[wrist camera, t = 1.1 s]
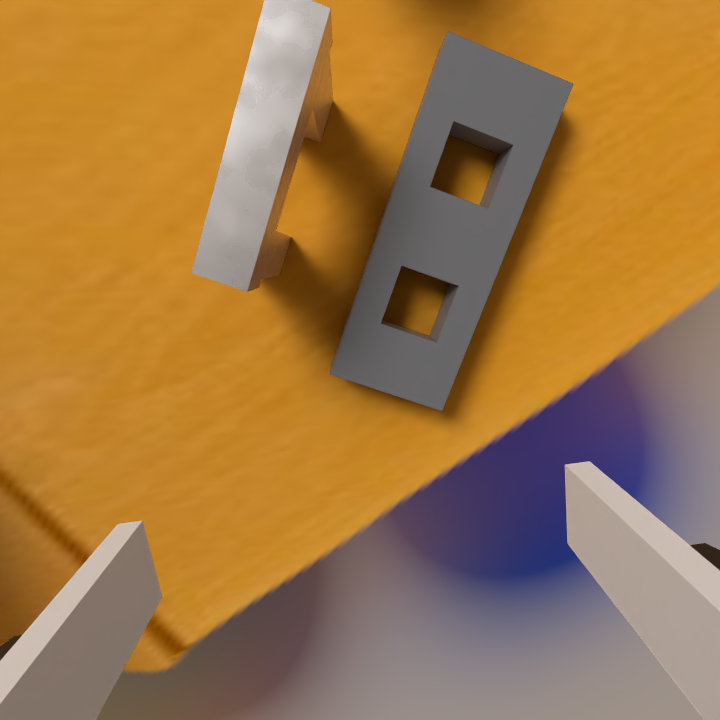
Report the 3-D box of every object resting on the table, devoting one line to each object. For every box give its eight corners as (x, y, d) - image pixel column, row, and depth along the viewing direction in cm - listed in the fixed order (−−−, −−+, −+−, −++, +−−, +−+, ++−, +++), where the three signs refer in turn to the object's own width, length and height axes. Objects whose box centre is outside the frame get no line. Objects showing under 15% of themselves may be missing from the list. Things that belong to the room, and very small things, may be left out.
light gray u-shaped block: (240, 268, 35) (191, 272, 24) (295, 77, 33) (269, -17, 21) (277, 281, 36) (247, 291, 24) (335, 93, 33) (330, 8, 22)
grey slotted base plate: (331, 365, 37) (329, 374, 34) (438, 51, 33) (447, 31, 30) (434, 399, 38) (442, 411, 35) (553, 98, 33) (573, 83, 31)
